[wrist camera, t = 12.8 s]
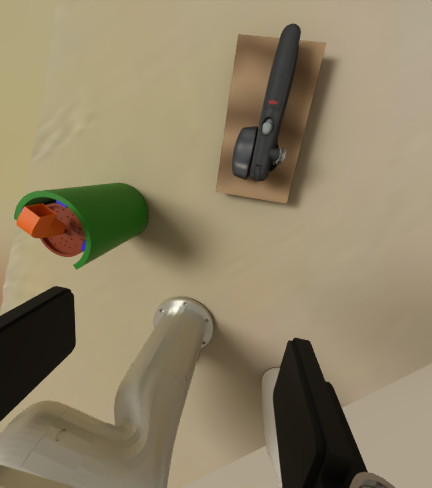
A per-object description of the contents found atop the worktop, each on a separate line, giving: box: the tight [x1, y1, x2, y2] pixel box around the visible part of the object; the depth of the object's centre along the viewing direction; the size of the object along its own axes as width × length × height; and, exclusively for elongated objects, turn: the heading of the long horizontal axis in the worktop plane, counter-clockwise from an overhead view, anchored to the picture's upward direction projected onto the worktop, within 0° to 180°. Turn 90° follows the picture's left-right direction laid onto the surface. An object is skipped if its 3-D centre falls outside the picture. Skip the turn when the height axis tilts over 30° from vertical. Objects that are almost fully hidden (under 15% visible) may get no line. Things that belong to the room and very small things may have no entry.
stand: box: [216, 34, 326, 204], centre depth 33 cm, size 20×11×3 cm, turn 172°
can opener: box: [232, 24, 301, 181], centre depth 29 cm, size 18×7×6 cm, turn 165°
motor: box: [14, 183, 148, 269], centre depth 32 cm, size 10×9×20 cm
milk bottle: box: [262, 367, 282, 488], centre depth 39 cm, size 8×8×20 cm
